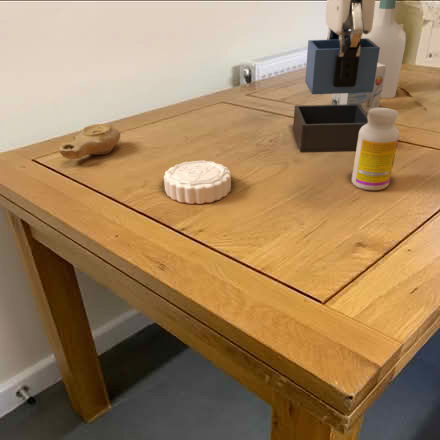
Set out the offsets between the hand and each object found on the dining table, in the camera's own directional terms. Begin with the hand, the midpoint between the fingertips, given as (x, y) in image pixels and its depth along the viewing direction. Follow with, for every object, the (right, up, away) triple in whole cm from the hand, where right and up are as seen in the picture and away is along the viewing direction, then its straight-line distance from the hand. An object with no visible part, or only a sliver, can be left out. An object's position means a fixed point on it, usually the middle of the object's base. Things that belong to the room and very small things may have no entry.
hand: (338, 78), depth 71 cm
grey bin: (+6, +1, +32) cm, 33 cm away
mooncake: (-22, -14, +14) cm, 30 cm away
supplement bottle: (+9, -13, +14) cm, 21 cm away
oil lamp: (-45, -3, +29) cm, 53 cm away
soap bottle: (+24, +22, +59) cm, 67 cm away
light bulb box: (+16, +14, +49) cm, 53 cm away
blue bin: (0, -1, +1) cm, 1 cm away
